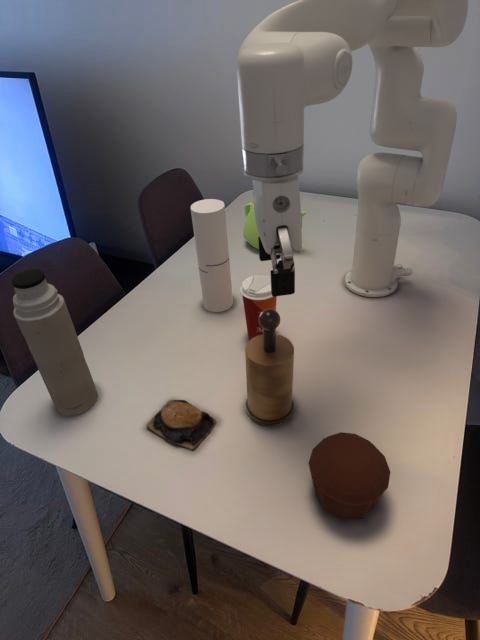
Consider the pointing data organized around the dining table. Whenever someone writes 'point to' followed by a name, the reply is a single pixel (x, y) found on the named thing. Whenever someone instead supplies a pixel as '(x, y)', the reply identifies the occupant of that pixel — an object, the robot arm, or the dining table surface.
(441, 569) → the dining table surface
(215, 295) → the cylindrical container
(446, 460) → the dining table surface
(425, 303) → the dining table surface
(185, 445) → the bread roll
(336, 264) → the dining table surface
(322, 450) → the muffin
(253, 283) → the paper cup
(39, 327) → the thermos bottle
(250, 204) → the teapot
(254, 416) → the paper towel holder
